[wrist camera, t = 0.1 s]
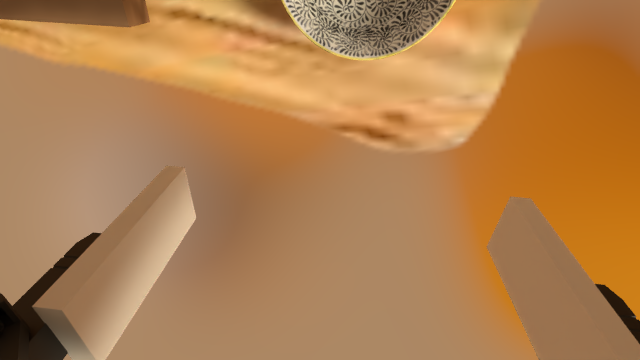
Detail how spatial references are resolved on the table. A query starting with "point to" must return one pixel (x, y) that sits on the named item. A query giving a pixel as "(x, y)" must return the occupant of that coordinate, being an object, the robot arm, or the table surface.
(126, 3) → the walnut rail
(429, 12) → the bowl
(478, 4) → the table surface
